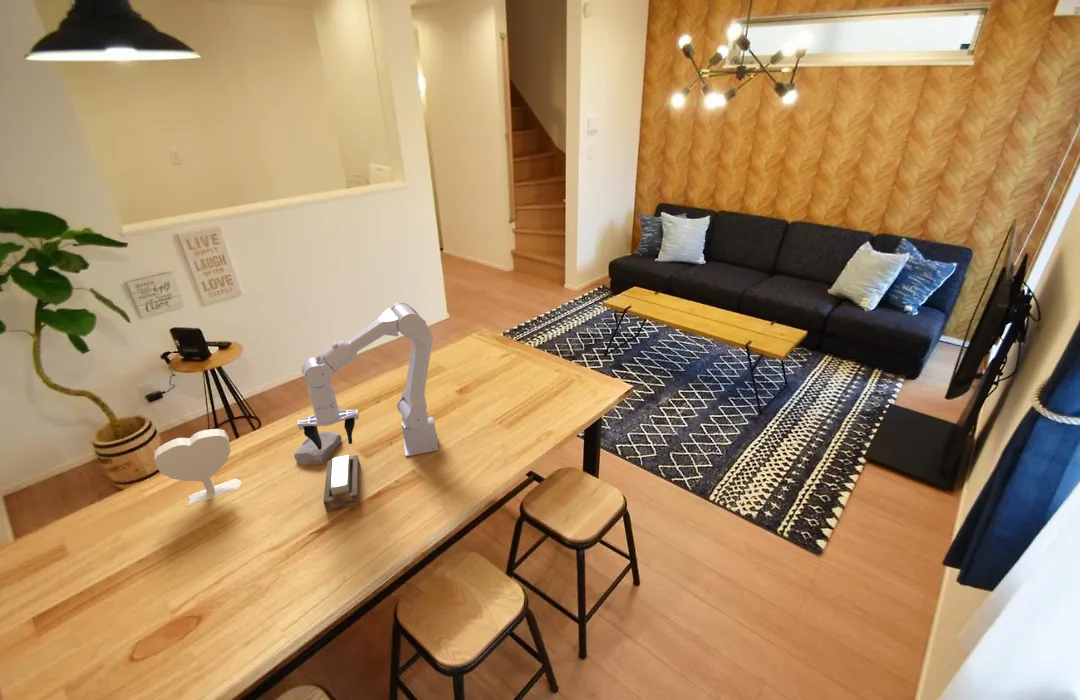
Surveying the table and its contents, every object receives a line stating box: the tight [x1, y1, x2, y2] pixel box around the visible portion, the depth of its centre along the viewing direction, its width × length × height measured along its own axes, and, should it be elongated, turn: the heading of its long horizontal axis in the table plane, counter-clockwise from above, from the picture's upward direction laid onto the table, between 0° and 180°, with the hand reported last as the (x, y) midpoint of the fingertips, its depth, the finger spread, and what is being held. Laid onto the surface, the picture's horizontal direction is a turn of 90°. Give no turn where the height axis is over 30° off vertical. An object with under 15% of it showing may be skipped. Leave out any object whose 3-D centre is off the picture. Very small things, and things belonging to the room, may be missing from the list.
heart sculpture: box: [153, 428, 242, 505], centre depth 125 cm, size 16×5×18 cm, turn 124°
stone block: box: [294, 431, 342, 466], centre depth 143 cm, size 12×5×10 cm
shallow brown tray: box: [323, 454, 361, 513], centre depth 130 cm, size 8×16×4 cm, turn 17°
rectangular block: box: [330, 454, 352, 496], centre depth 129 cm, size 4×12×4 cm, turn 17°
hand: (335, 444), depth 131 cm, fingers open, 7 cm apart
